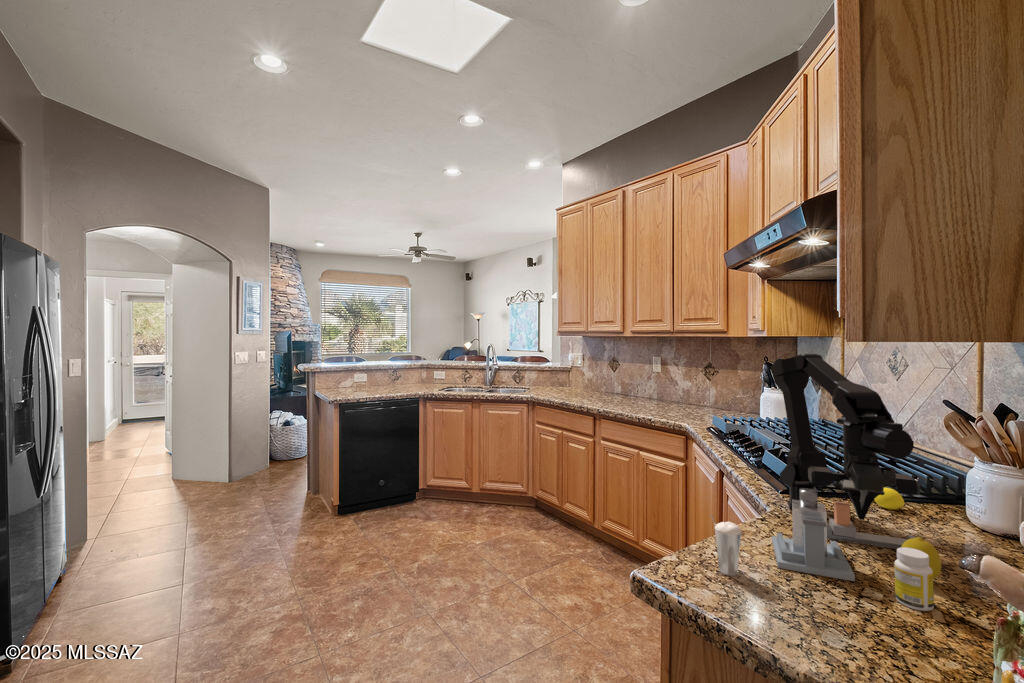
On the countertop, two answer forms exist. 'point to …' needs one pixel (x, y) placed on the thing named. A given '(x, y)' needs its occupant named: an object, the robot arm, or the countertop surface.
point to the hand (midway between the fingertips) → (861, 519)
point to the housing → (809, 508)
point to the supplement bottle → (913, 579)
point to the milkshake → (727, 547)
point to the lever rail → (870, 539)
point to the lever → (842, 520)
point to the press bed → (808, 570)
